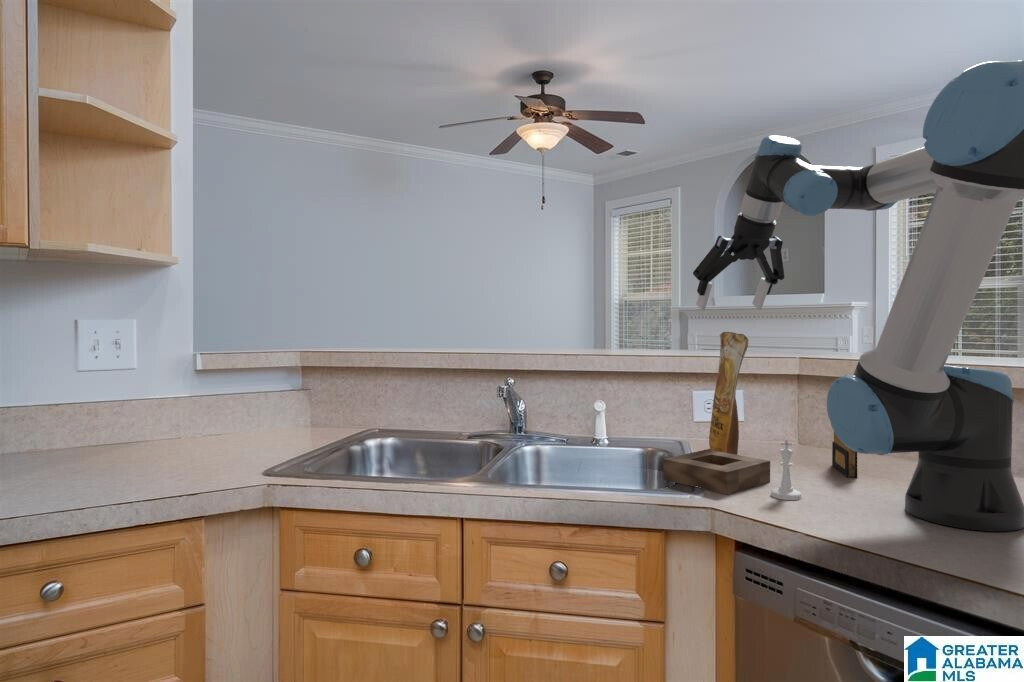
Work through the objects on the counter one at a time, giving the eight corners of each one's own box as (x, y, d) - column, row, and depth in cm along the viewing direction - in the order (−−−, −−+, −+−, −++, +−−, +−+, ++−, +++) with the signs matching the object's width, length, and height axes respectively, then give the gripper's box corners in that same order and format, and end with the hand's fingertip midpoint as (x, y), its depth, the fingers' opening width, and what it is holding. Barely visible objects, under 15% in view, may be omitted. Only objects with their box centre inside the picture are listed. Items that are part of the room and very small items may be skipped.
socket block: (770, 481, 119) (770, 460, 119) (727, 494, 110) (727, 472, 110) (706, 468, 130) (706, 449, 130) (663, 479, 121) (663, 458, 121)
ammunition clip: (831, 465, 132) (832, 408, 132) (841, 465, 132) (841, 408, 131) (847, 477, 122) (847, 416, 121) (857, 478, 121) (857, 416, 121)
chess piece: (805, 501, 106) (805, 442, 106) (774, 499, 107) (774, 441, 107) (797, 493, 111) (798, 436, 111) (768, 491, 112) (768, 436, 112)
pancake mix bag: (734, 446, 153) (734, 331, 152) (749, 463, 134) (749, 332, 134) (705, 445, 154) (705, 331, 154) (717, 462, 136) (717, 332, 135)
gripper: (802, 210, 132) (770, 297, 144) (693, 207, 127) (669, 299, 139) (823, 224, 126) (788, 314, 138) (709, 222, 121) (683, 316, 133)
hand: (728, 307), depth 138 cm, fingers open, 13 cm apart
